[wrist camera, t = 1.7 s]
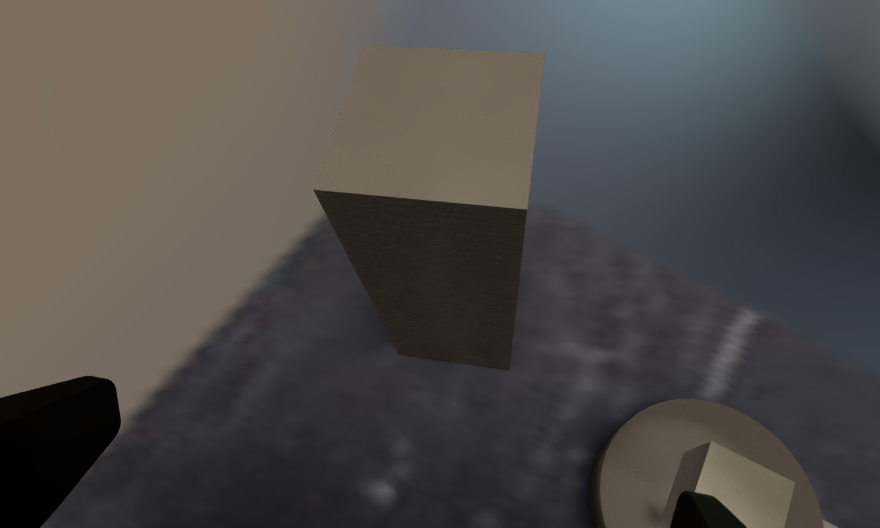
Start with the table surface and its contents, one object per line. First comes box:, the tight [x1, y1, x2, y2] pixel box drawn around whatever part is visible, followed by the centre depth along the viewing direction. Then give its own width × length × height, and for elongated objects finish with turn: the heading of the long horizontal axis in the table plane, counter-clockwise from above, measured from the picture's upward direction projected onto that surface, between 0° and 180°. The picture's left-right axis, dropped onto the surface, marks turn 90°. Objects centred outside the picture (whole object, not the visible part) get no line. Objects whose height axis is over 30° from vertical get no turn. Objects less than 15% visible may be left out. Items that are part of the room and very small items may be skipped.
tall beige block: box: [313, 45, 545, 370], centre depth 18 cm, size 5×5×12 cm
